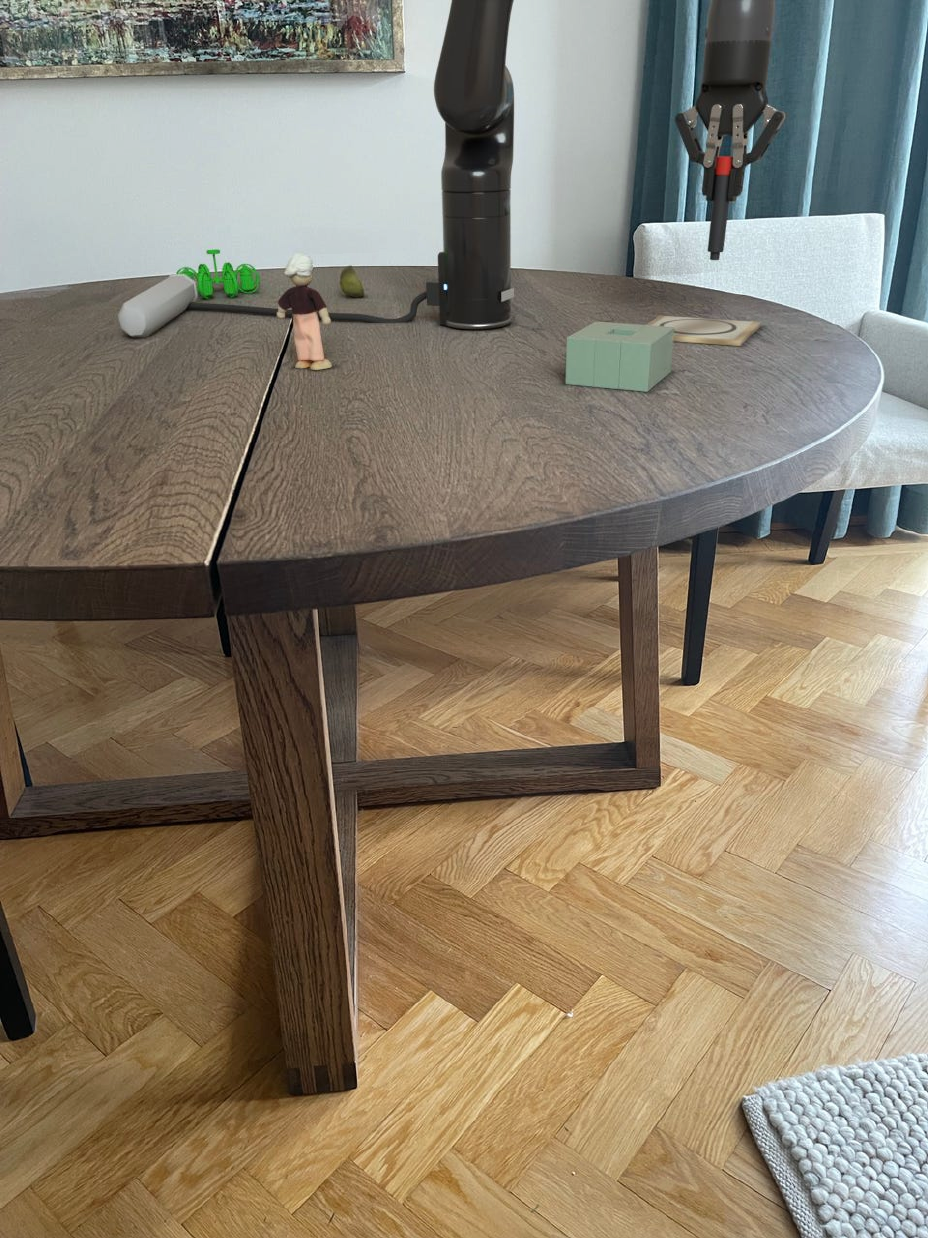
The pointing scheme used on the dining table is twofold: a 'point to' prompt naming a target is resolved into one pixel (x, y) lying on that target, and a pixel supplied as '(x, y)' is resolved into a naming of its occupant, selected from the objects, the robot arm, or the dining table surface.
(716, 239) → the marker
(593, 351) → the pen stand
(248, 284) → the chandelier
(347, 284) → the lime
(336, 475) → the dining table surface
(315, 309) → the grandmother figurine
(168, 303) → the tube
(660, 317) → the square wooden coaster
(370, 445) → the dining table surface
